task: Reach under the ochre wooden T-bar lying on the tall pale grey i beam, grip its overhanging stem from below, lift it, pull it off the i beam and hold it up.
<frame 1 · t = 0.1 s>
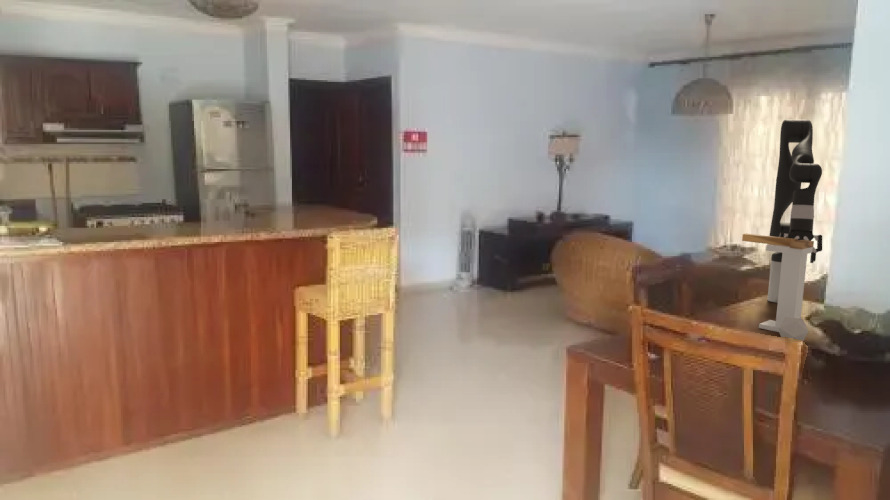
hand: (798, 262, 249), 22 cm above the table, tool pointing down, fingers open, 8 cm apart
i beam: (781, 329, 242), on the table
die: (791, 342, 226), on the table
t bar: (777, 244, 240), point 30 cm above the table, touching i beam
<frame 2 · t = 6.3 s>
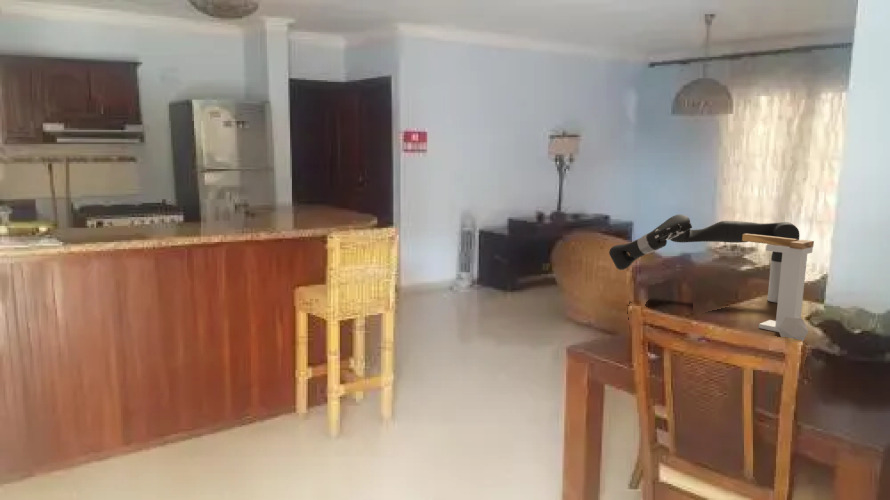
hand: (685, 225, 265), 33 cm above the table, tool pointing upward, fingers open, 8 cm apart
nothing on the table moved.
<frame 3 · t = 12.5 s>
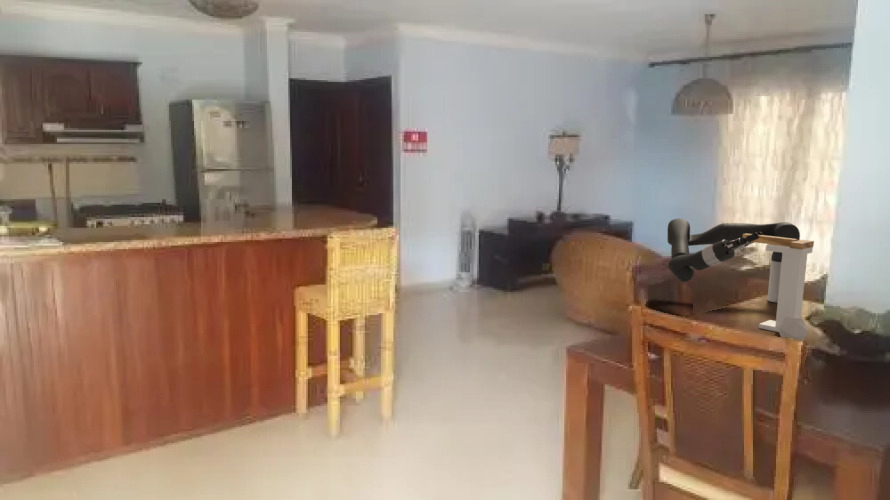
hand: (759, 234, 245), 33 cm above the table, tool pointing upward, fingers closed on t bar, 3 cm apart
t bar: (777, 244, 240), point 30 cm above the table, touching gripper, i beam
everything else where it was.
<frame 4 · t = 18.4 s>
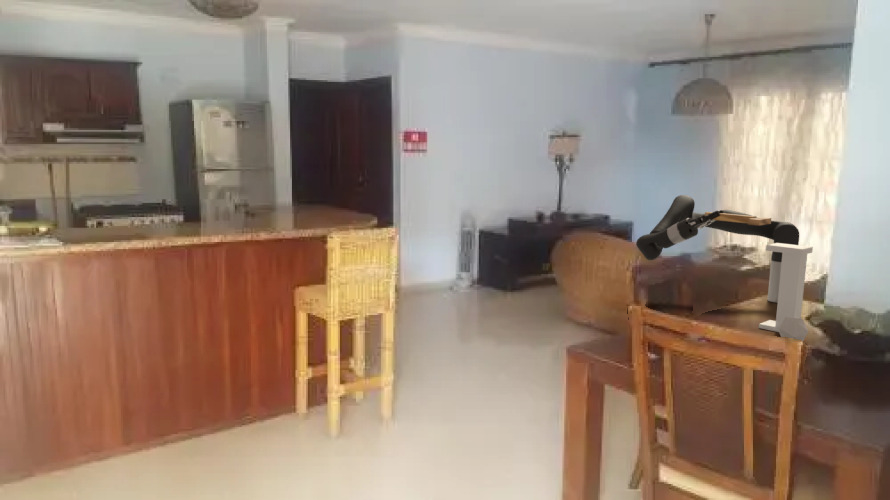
hand: (720, 212, 254), 39 cm above the table, tool pointing upward, fingers closed on t bar, 3 cm apart
t bar: (737, 221, 250), point 37 cm above the table, touching gripper
everything else where it was.
at the end: the gripper is holding t bar; t bar touching gripper; t bar point 36.6 cm above the table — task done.
